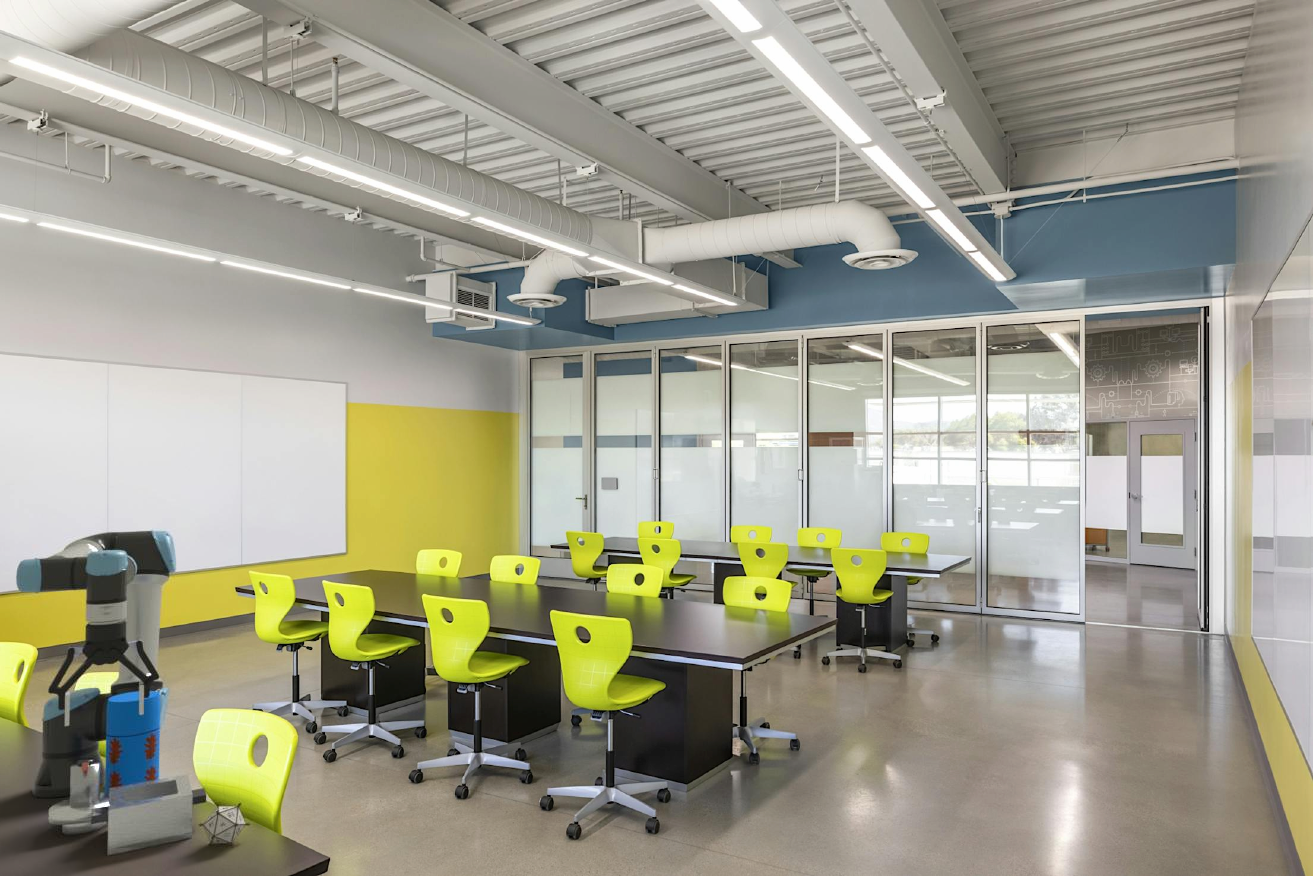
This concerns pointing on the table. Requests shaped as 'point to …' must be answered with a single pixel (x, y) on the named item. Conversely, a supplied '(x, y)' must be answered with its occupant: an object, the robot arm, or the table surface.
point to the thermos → (132, 740)
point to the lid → (80, 799)
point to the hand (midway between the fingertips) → (104, 718)
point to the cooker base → (149, 813)
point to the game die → (224, 824)
